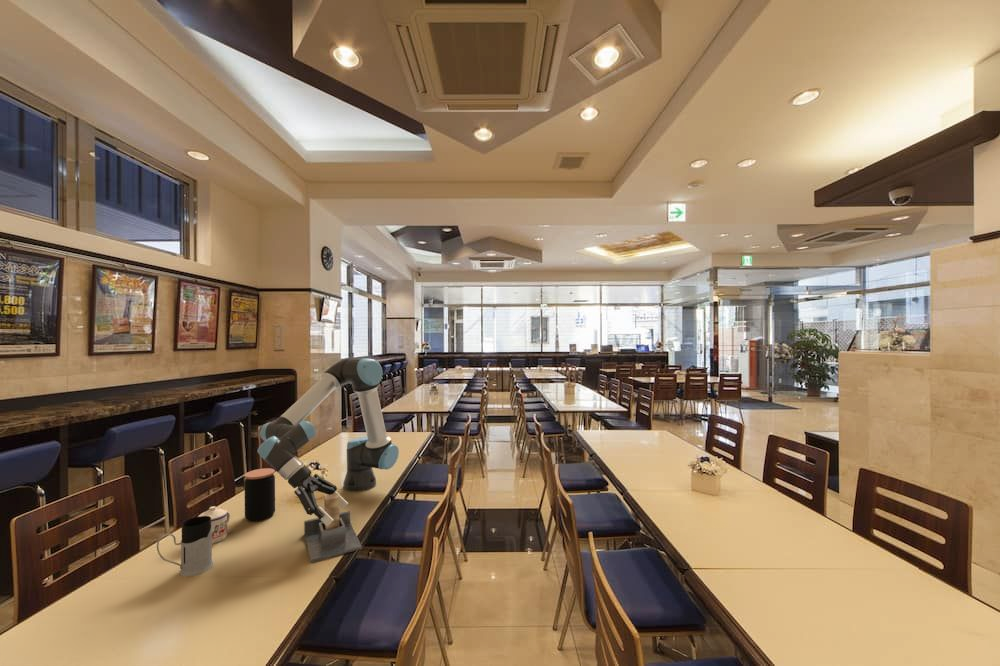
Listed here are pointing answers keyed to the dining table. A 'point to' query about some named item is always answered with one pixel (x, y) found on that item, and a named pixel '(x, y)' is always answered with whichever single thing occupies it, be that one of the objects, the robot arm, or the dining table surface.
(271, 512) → the coffee jar
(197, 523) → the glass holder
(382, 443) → the robot arm
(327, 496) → the wooden block
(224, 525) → the teacup with lid
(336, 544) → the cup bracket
